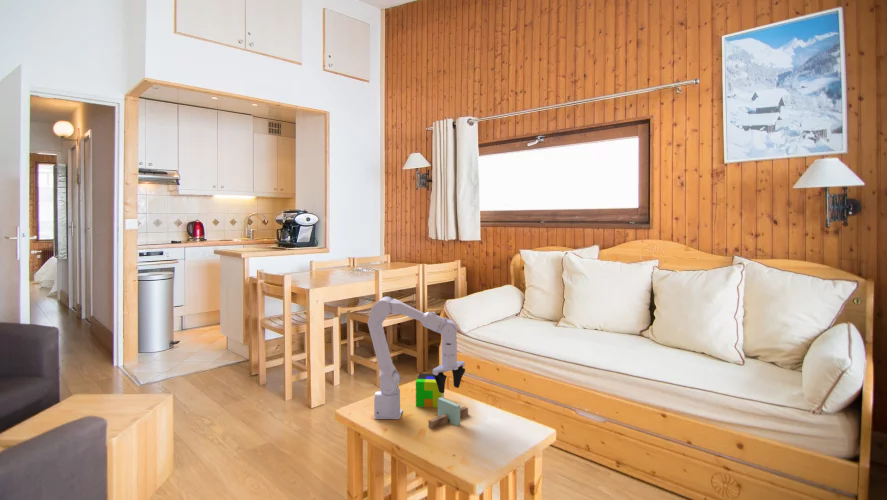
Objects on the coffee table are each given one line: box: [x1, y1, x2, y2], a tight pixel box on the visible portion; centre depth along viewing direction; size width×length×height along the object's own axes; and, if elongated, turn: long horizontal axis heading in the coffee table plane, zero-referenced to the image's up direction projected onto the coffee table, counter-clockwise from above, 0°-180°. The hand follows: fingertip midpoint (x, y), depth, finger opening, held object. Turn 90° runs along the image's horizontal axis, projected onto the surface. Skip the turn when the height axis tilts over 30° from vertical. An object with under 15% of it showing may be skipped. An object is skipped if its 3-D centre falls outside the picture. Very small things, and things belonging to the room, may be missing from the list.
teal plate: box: [437, 397, 461, 427], centre depth 169 cm, size 10×2×7 cm, turn 43°
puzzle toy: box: [415, 372, 445, 408], centre depth 186 cm, size 10×10×10 cm
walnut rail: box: [427, 405, 469, 430], centre depth 169 cm, size 18×2×3 cm, turn 132°
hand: (449, 389), depth 171 cm, fingers open, 7 cm apart
